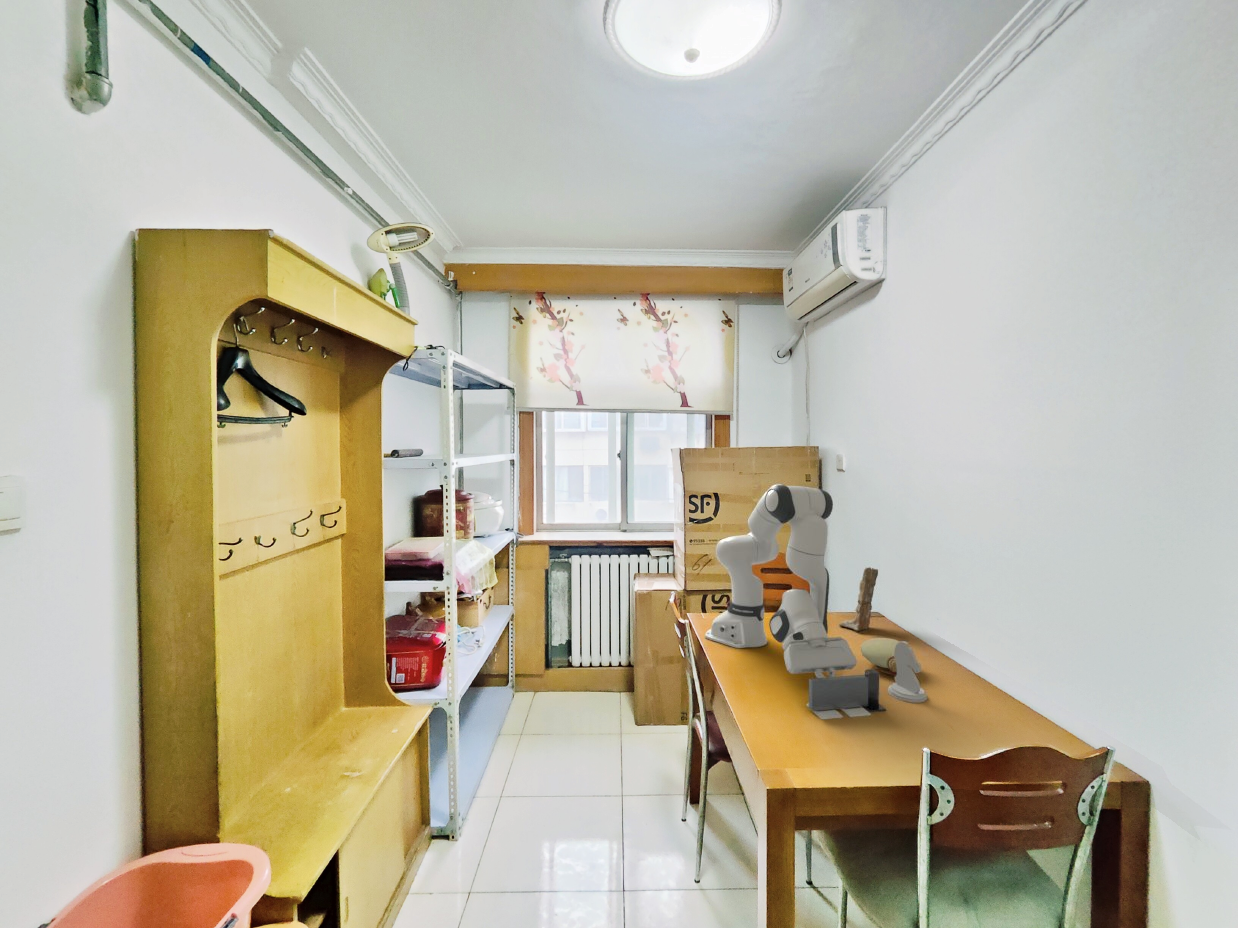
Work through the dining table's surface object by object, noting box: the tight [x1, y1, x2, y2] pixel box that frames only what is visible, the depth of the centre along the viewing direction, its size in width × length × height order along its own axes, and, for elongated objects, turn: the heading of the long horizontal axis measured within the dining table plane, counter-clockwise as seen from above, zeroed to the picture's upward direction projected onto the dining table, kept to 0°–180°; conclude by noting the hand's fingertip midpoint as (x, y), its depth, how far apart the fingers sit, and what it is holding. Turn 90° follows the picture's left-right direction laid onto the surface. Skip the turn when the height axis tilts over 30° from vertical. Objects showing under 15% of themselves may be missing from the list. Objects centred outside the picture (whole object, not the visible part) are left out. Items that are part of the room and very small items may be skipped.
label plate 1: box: [805, 702, 844, 720], centre depth 144 cm, size 6×8×1 cm
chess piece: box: [887, 640, 928, 703], centre depth 154 cm, size 10×10×15 cm
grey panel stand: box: [808, 669, 880, 712], centre depth 145 cm, size 20×4×9 cm, turn 99°
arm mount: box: [863, 703, 887, 713], centre depth 147 cm, size 5×5×1 cm
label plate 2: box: [840, 707, 871, 718], centre depth 146 cm, size 6×8×1 cm
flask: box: [859, 637, 901, 676], centre depth 170 cm, size 9×16×18 cm
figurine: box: [838, 567, 879, 632], centre depth 212 cm, size 12×10×25 cm
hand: (830, 685), depth 149 cm, fingers closed
